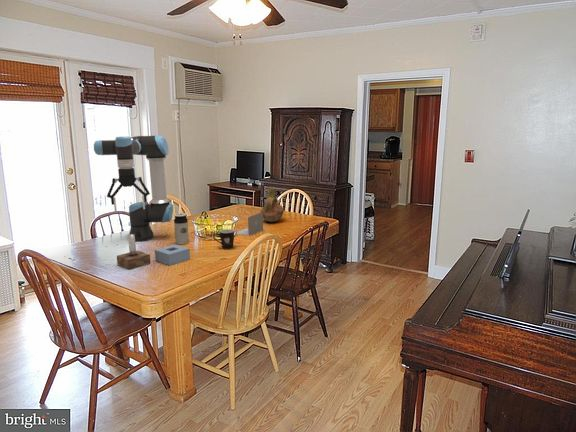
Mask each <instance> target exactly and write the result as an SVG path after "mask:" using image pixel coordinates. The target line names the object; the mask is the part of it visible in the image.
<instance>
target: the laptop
mask: <svg viewBox="0 0 576 432" xmlns="http://www.w3.org/2000/svg"><path fill="white" fill-rule="evenodd" d="M260 212H261V211H260ZM260 212H258V213H255V214H253V215H250V216H248V217H247V227H245V228H244V229H241V230H239V231H236V232H237V234H236V235H238V236H246V237H249V236H251V235H254V234H257V233H259V232H261V231H263V230H264V219H263V212H261V213H260Z"/></svg>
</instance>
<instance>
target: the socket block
mask: <svg viewBox="0 0 576 432" xmlns="http://www.w3.org/2000/svg"><path fill="white" fill-rule="evenodd" d="M154 256H155V257H154V259H155V261H156V262H159V263H161V264H164V265H167V266H173V265H176V264H179V263H182V262H185V261H188V260H191V251H190V248H189V247H185V246H183V245H179V244H176V243H174V244H171V245H167V246H164V247H161V248H157V249H154Z"/></svg>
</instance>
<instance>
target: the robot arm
mask: <svg viewBox="0 0 576 432" xmlns="http://www.w3.org/2000/svg"><path fill="white" fill-rule="evenodd" d="M93 151H94V153H95V154H96V155H97V156H116V159H117V160H116V162H117V168H118V169H117V172H118V178H116V177H113V178H112V180H111V181H112V182H111V185H110V187H109V190H108V192H107V195H106V198H110V202H111V206H112V205H113V206H114V212H117V203H116V202H117V201H116V195H117V194H118V193H119V192H120V190H121V189H122V187H124V188H127V187H134V189H136V190H137V191H138V192H139V193H140V194H141V195H142V201H139V202H135V203H134V202H133V203H131V204H130V205H129V206H128V211H129V212H128V215H129V223H130V224H129V225H130V229H129V234H134V235H135V242H145V241H149V240H153V238H154V237H155V236H154V232H153V230H152V227H151V225H150V224H151V223H169V222H170V221H172V218H173V216H174V214H173V213H174V205H173V204H172V203H170V200H169V199H168V198H167V188H166V187H167V186H166V174H165V163H164V162H165V161H164V160H165V159H166V157H167V155H168V154H169V144H168V141H167V139H166V137H164V136H163V135H136V136H132V137H131V136H116V137H115V139H109V140H108V139H107V140H105V139H104V140H101V139H100V140H95V141H94V143H93ZM134 155H135V156H145V159H146V160H147V161H148V164H149V165H148V166H149V174H150V183H151V184H150V185H151V193H150V191H149V189H148V188H147V186H146V185H145V183H144V181H143V179H142V176H139V177H136V173H135V168H134V167H135V163H134V161H135V159H134ZM136 181H137V182H139V183H140V185H141V186H142V188H143V189H141V188H140V187H139V186H138V185H137V184H136V183H135V182H136ZM118 182H119V185H118V187H117V188H116V189H115V190H114V192H113V193H112V191H113V189H114V186H115V184H116V183H118ZM144 191H145V192H144ZM150 194H151V196H152V197H151V198H152V200H151V201H150V204H149V202H148V201H147V200H148V199H147V196H149V195H150ZM129 234H128V235H129Z"/></svg>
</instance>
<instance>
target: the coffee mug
mask: <svg viewBox="0 0 576 432" xmlns="http://www.w3.org/2000/svg"><path fill="white" fill-rule="evenodd" d="M234 233H235V230H234V229H230V228H228V229H220V230H219V232H218V233H214V234H213V235H212V236H213V237H212V238H213V240H215V241H216V242H218V243H219V244H221V248H222V249H223V250H230V249H234V238H235V234H234ZM216 235H217V236H219V238H220V240H218V239H216V238H215V236H216Z"/></svg>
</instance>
